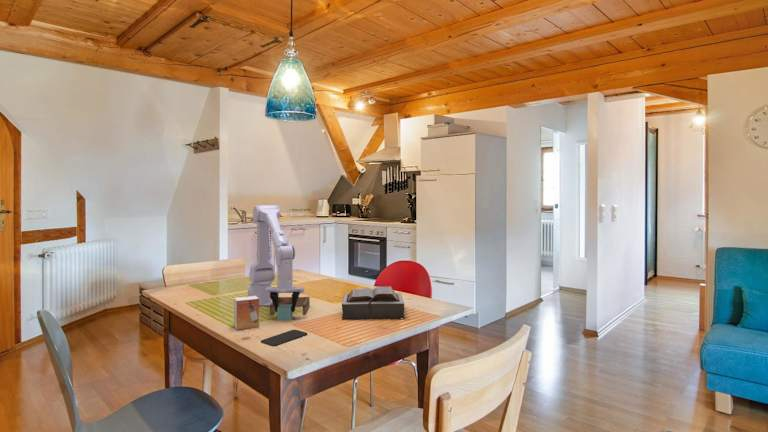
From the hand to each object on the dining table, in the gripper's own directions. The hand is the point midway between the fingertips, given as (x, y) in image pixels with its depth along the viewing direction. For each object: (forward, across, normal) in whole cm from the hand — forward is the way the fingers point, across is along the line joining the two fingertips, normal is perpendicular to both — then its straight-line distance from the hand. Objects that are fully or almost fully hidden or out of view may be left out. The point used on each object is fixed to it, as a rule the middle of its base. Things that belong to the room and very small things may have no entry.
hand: (285, 311), depth 167 cm
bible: (+3, +34, +7) cm, 35 cm away
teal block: (+3, 0, 0) cm, 3 cm away
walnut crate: (+3, 0, +12) cm, 12 cm away
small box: (+3, -12, -10) cm, 16 cm away
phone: (+3, +4, -23) cm, 24 cm away
